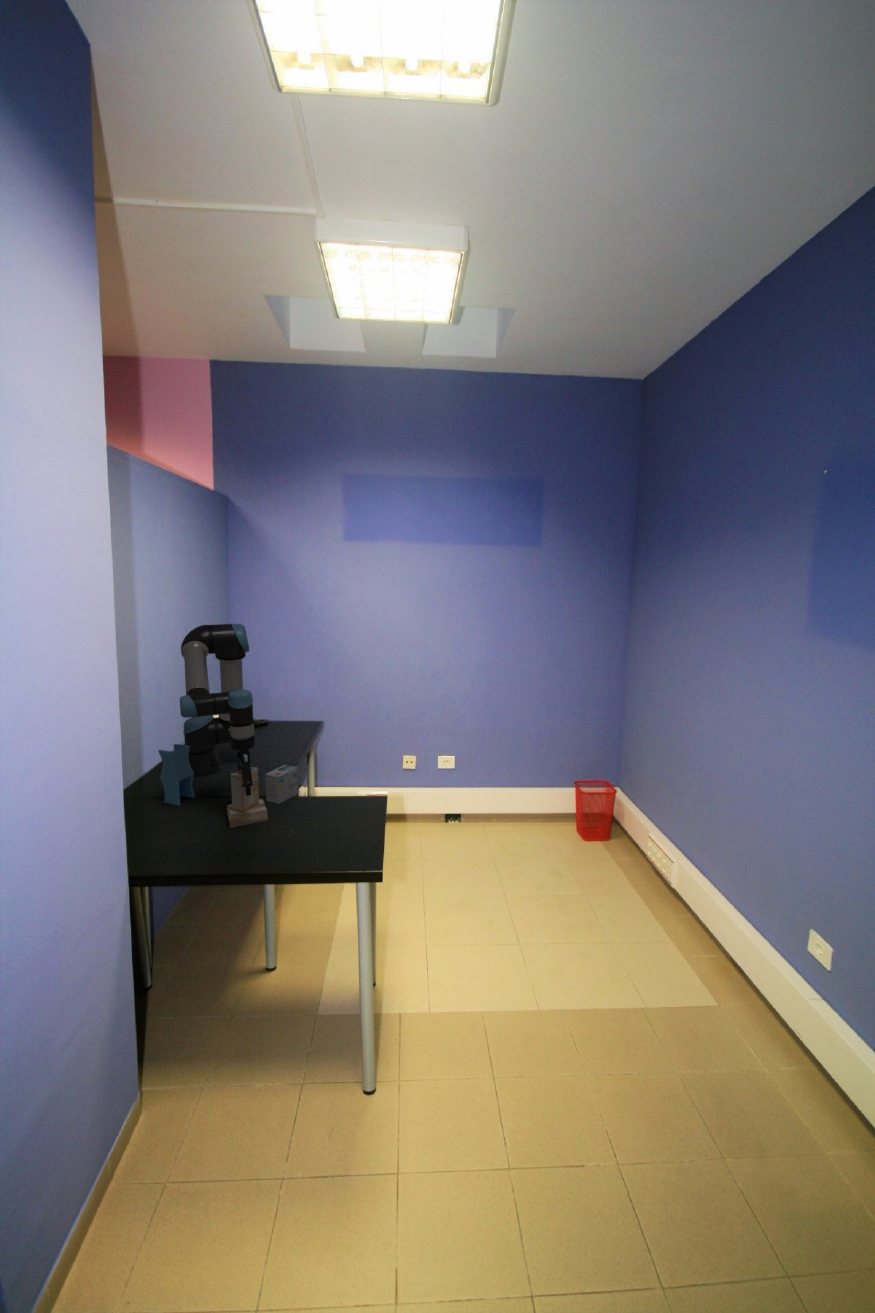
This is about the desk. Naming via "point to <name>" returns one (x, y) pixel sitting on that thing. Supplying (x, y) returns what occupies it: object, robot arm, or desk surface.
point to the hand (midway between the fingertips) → (246, 796)
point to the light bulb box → (281, 784)
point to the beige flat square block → (247, 815)
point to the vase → (176, 774)
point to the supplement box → (238, 790)
